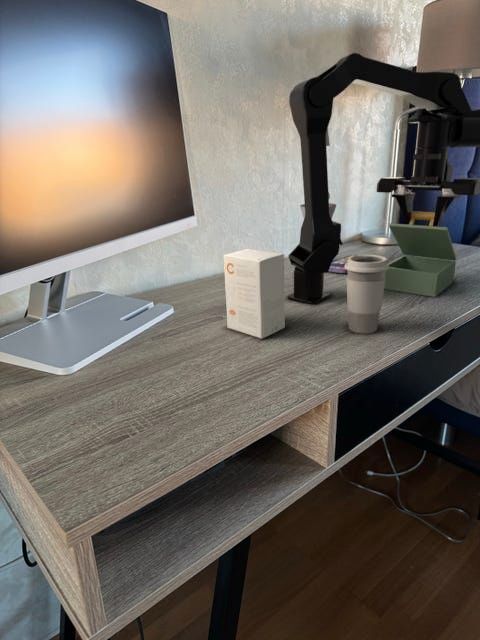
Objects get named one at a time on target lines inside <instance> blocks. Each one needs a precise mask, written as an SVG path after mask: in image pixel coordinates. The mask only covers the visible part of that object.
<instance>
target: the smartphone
mask: <svg viewBox="0 0 480 640" xmlns="http://www.w3.org/2000/svg"><path fill="white" fill-rule="evenodd" d="M350 256H351V255H346V256H344V257H341V258H339V259H336V260H333V262H332V263H331V266H330V269H329V271H328V272H330V273H331V272H332V273H338V274H348V271H347V269H345V264H346V263H347V262H348V258H349V257H350Z"/></svg>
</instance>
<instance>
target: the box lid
mask: <svg viewBox="0 0 480 640" xmlns="http://www.w3.org/2000/svg"><path fill="white" fill-rule="evenodd" d="M434 216H435V211H434V212H432V211H414V210H413V211H412V213H411V220H410V223H409V225H407V224H406V223H405V224H404V223H391V222H389V223H388V227H389V229H390V231H391V233H392V236H393V237H394V239H395V241H396V243H397V245H398V248H399V250H400V252H401V253H402V256H403V255H406V256H414V257H423V258H432V259H441V260H450V261H456V262H457V255H456V252H455V248H454V246H453V242H452V238H451V235H450V232H449V229H448V227H446V226H438V227H435V226H433V222H434ZM416 220H417V221H429V224H428V225H421V224H415V221H416Z"/></svg>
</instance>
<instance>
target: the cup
mask: <svg viewBox="0 0 480 640" xmlns="http://www.w3.org/2000/svg"><path fill="white" fill-rule="evenodd" d="M349 256H350V257H349V258H348V262H347V263H346V264H345V269H347V271H348V273H347V276H346V296H347V297H346V302H347V303H346V309H347V313H348V314H347V315H348V330H349V331H351V332H353V333H356V334H361V335H362V334H363V335H365V334H367V335H368V334H373V333H375V332H377V330H378V326H379V325H378V324H379V318H380V312H381V311H382V305H383V304H382V303H383V299H384V291H385V289H384V285H385V279H386V277H385V272H386V270H388V269H389V264H388V263H389V262H388V260H387V257H386V256H384V255H383V256H382V255H379V254H365V253H363V254H356V255H355V254H354V255H349Z"/></svg>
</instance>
